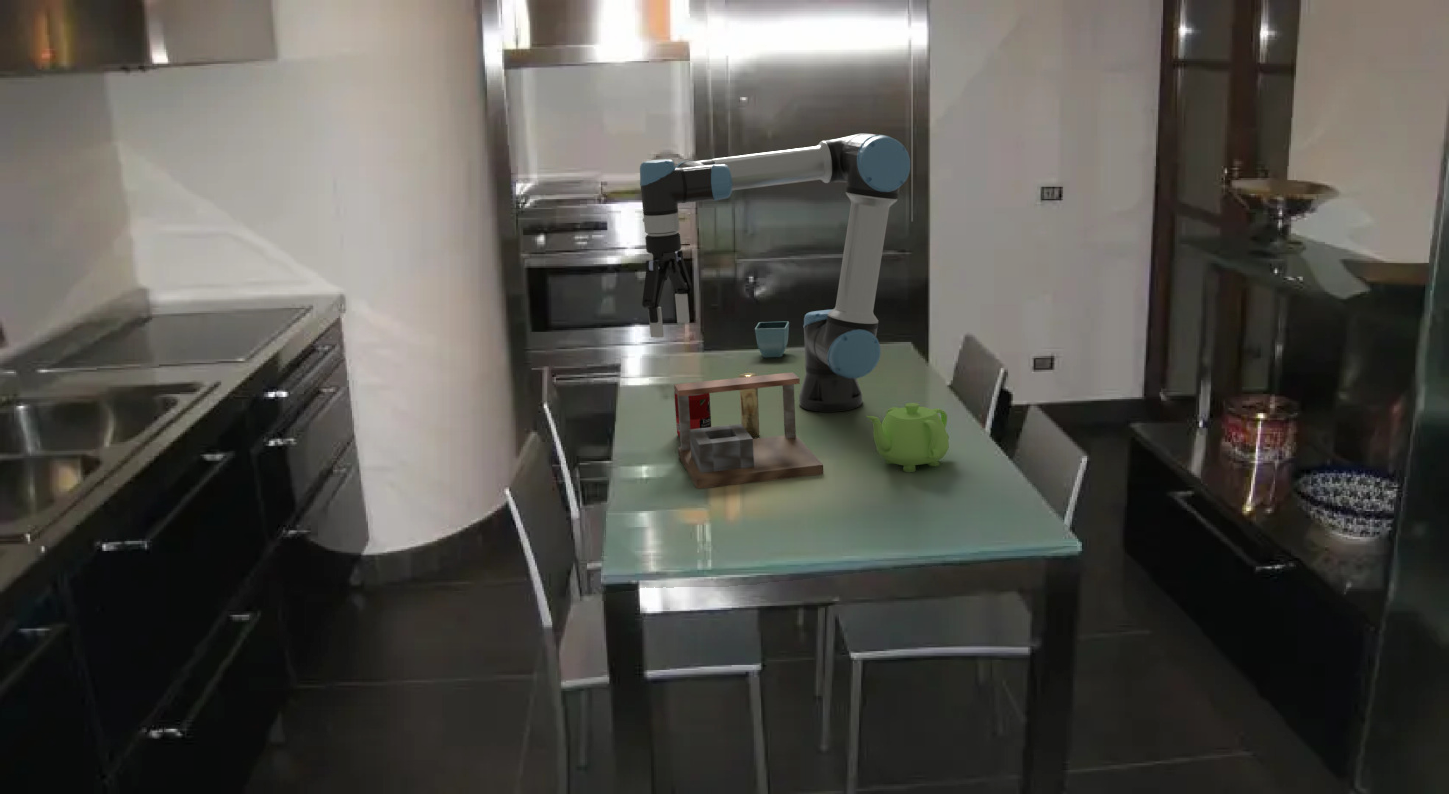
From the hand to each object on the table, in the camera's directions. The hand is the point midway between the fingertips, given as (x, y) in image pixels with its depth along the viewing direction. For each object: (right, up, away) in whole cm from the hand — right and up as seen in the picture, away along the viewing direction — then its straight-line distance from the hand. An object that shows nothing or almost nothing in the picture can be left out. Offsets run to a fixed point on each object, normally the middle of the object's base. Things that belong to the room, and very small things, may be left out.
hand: (670, 329), depth 270 cm
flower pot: (+26, -3, +79) cm, 83 cm away
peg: (+18, -23, +7) cm, 30 cm away
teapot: (+49, -29, -18) cm, 60 cm away
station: (+17, -29, -13) cm, 36 cm away
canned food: (+5, -24, +9) cm, 26 cm away
